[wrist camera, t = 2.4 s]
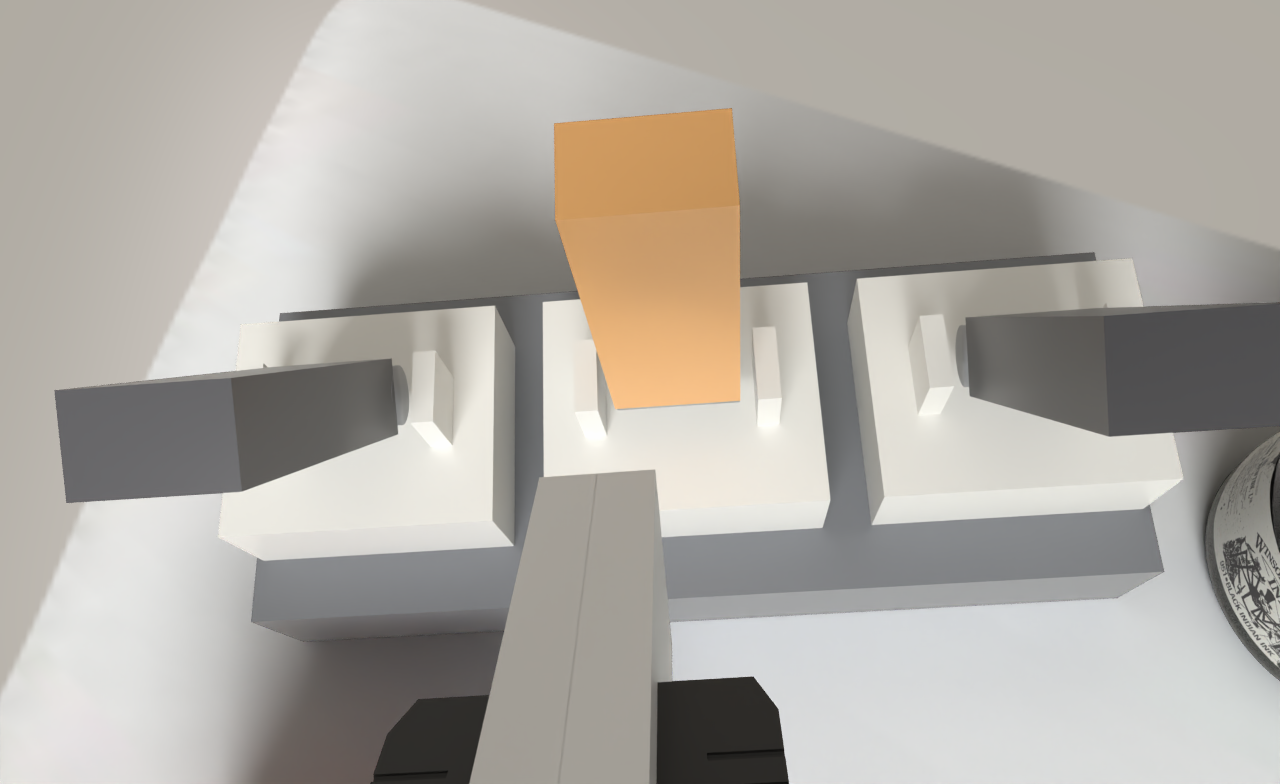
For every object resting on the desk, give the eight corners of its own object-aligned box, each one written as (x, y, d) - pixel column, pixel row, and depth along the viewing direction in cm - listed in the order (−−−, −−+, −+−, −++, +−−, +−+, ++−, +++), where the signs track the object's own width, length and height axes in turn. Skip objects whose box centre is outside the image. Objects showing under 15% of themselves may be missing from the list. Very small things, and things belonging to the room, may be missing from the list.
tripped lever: (740, 418, 28) (740, 205, 18) (620, 426, 29) (555, 219, 19) (735, 348, 29) (731, 108, 19) (618, 357, 29) (554, 123, 19)
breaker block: (1117, 602, 33) (1498, 395, 17) (302, 645, 35) (-98, 498, 18) (1058, 308, 37) (1320, -104, 20) (324, 360, 39) (7, 21, 22)
